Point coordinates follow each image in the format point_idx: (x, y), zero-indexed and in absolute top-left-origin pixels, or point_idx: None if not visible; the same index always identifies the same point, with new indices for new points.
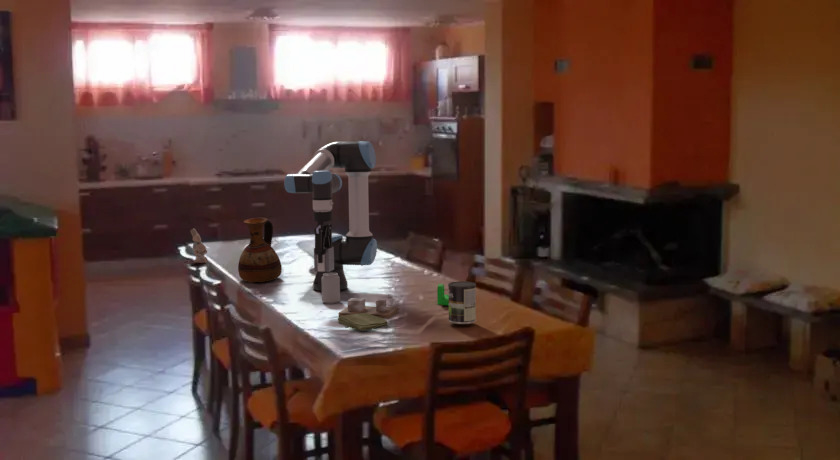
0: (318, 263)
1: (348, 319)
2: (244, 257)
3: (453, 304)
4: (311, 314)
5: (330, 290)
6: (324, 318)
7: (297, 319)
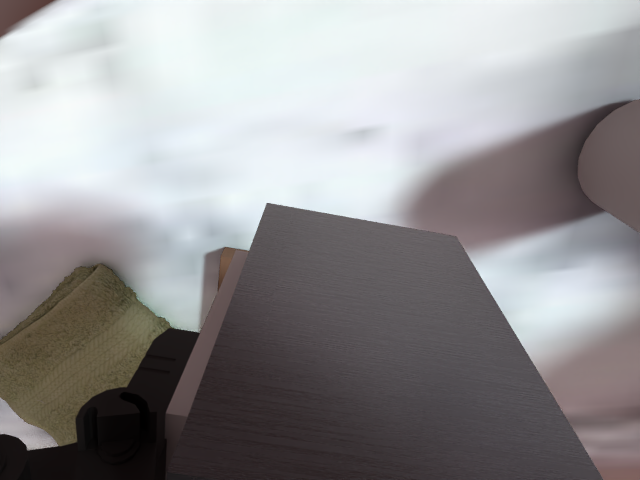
0: (213, 316)
1: (28, 328)
2: None
3: None
4: (273, 90)
5: (621, 187)
6: (176, 183)
7: (123, 24)
